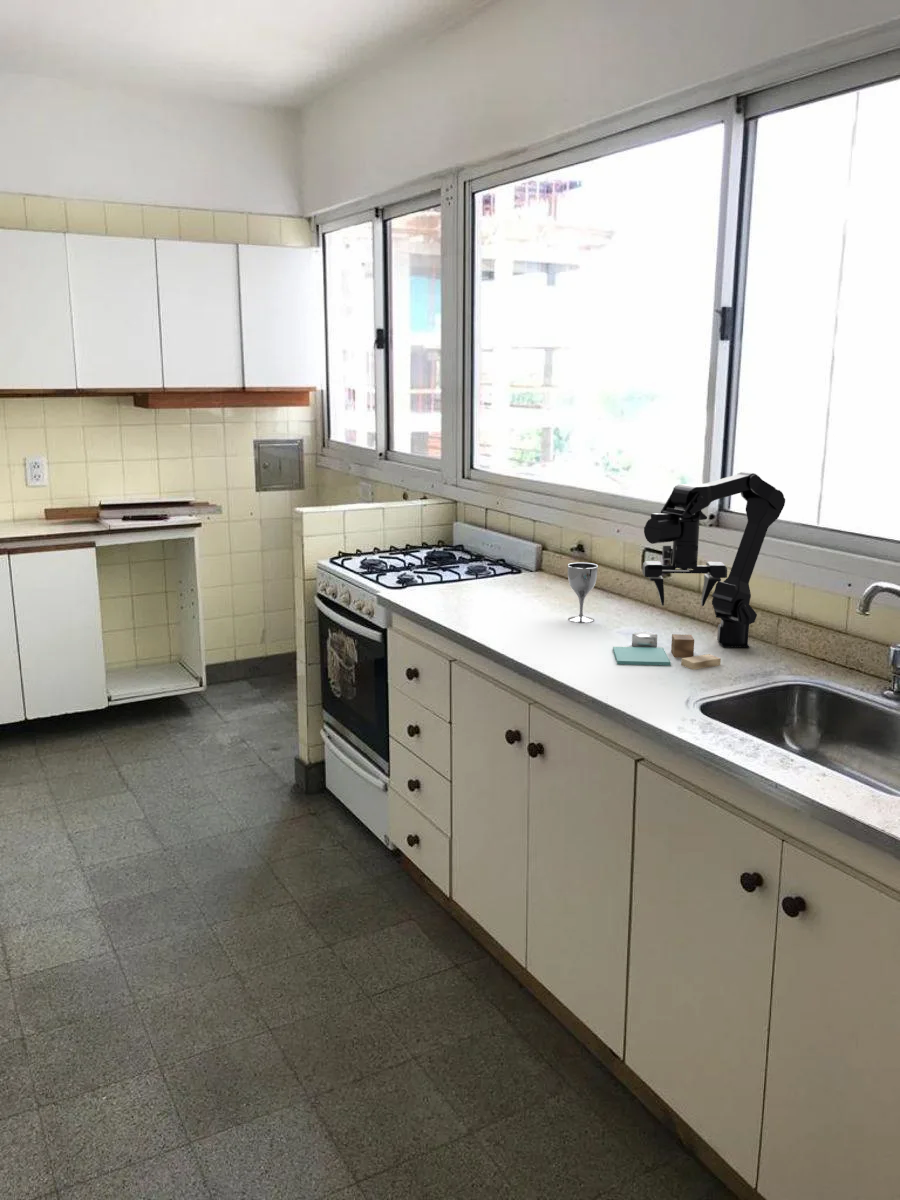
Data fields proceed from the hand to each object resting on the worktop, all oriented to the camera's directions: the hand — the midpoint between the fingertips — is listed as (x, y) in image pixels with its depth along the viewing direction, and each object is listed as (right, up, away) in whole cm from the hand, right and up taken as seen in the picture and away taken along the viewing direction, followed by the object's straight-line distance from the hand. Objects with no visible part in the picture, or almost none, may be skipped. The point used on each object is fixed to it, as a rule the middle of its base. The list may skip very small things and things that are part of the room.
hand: (682, 605), depth 229 cm
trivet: (-10, -12, 0) cm, 16 cm away
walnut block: (0, -12, +2) cm, 12 cm away
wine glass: (-19, -4, +35) cm, 40 cm away
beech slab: (+3, -14, -6) cm, 15 cm away
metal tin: (-7, -10, +10) cm, 16 cm away
